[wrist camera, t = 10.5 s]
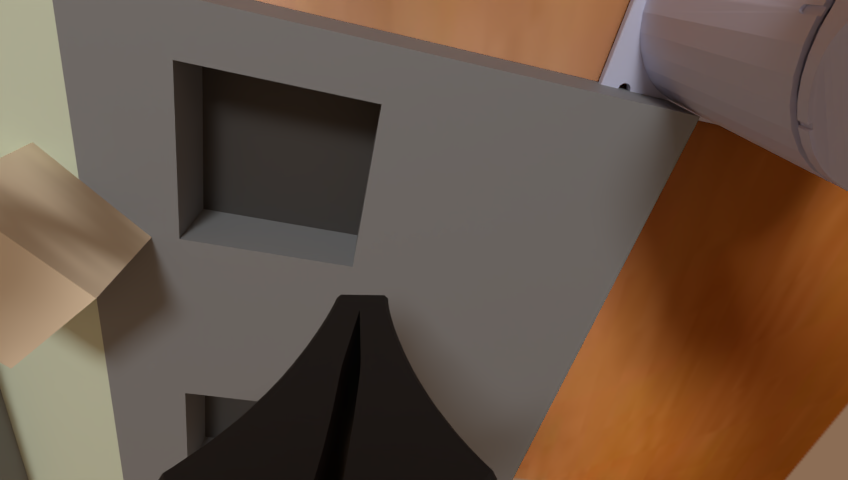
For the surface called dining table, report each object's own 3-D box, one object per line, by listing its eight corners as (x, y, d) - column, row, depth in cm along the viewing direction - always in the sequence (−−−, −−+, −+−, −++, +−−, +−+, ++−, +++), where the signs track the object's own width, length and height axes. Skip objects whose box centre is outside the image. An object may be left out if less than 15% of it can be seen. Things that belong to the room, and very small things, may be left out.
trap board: (661, 96, 20) (724, 129, 16) (482, 480, 33) (493, 548, 29) (-91, -81, 16) (-250, -96, 12) (45, 437, 29) (-10, 510, 25)
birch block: (151, 237, 19) (95, 298, 16) (77, 299, 20) (11, 368, 17) (32, 141, 17) (-63, 188, 13) (-42, 218, 18) (-146, 279, 15)
